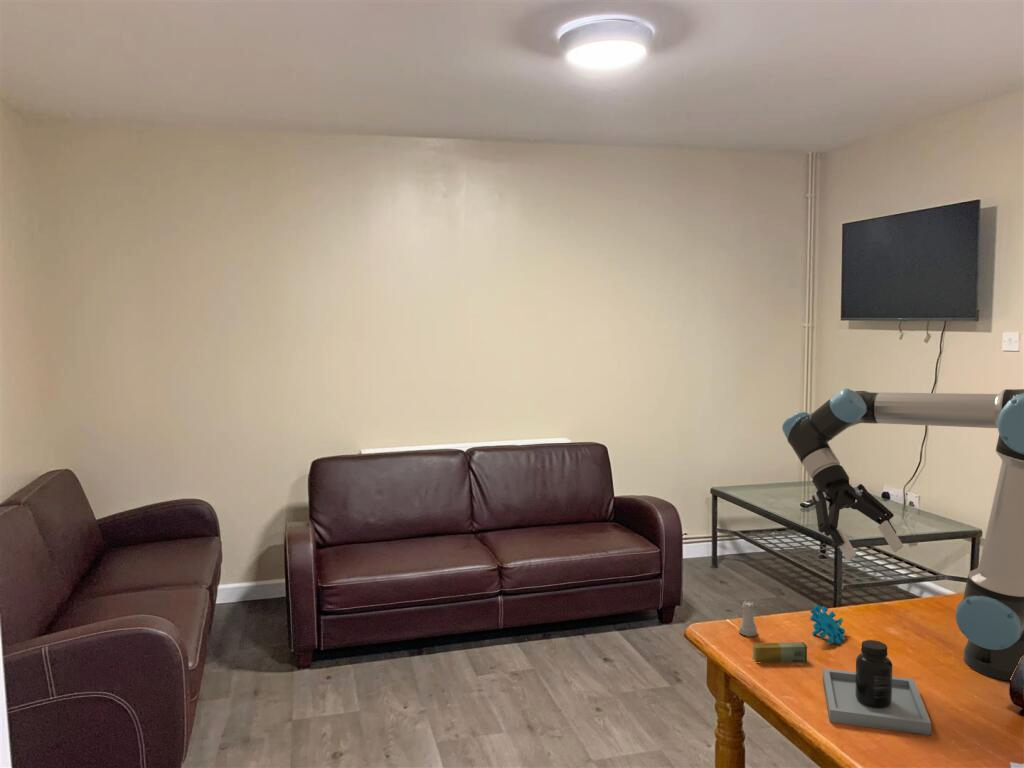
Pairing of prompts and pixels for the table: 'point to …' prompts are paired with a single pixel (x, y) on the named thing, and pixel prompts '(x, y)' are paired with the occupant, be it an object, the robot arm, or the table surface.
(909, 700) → the tray
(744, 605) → the rook chess piece
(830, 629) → the blue bumpy irregular piece
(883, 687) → the supplement bottle
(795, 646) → the medication box
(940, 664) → the table surface
